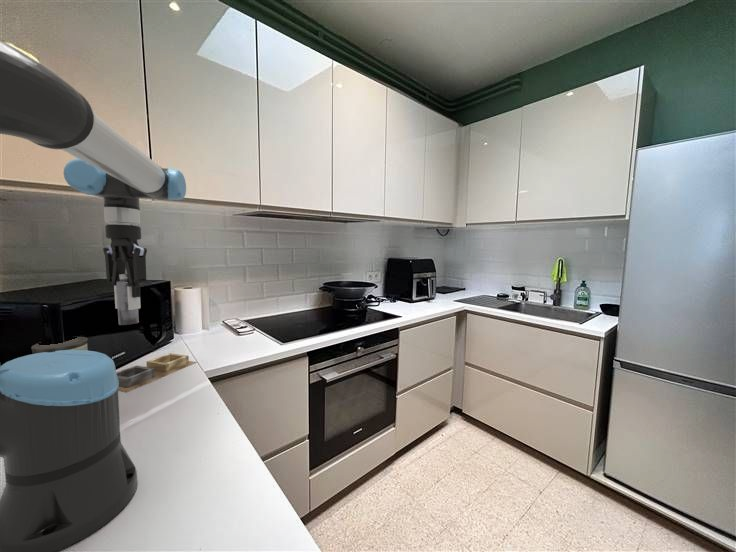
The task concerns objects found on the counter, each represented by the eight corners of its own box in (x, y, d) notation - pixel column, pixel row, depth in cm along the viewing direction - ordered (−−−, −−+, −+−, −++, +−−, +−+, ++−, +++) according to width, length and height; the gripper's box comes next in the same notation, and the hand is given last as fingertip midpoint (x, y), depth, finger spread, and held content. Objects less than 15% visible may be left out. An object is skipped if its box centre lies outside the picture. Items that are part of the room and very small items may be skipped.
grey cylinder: (126, 325, 78) (123, 274, 77) (114, 324, 80) (111, 274, 79) (142, 321, 83) (140, 273, 82) (131, 320, 84) (129, 273, 83)
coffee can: (25, 405, 71) (20, 350, 70) (50, 387, 81) (47, 338, 80) (79, 397, 76) (75, 345, 74) (97, 381, 85) (94, 335, 84)
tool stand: (126, 397, 76) (126, 383, 75) (95, 391, 79) (94, 377, 79) (197, 366, 97) (197, 354, 96) (170, 362, 100) (170, 351, 100)
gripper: (160, 225, 80) (164, 307, 82) (116, 226, 85) (120, 304, 87) (131, 222, 73) (136, 313, 75) (85, 224, 78) (90, 308, 80)
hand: (128, 308), depth 81 cm, fingers closed on grey cylinder, 4 cm apart
